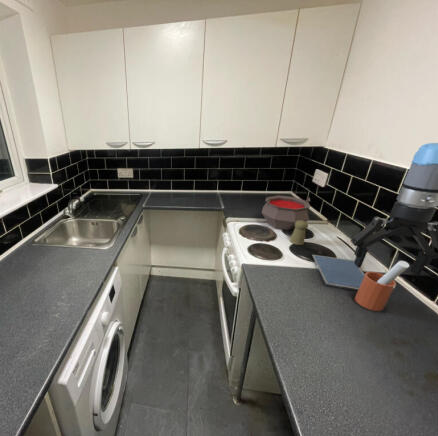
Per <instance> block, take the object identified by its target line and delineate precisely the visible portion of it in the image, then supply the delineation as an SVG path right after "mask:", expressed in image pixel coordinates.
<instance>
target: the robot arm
mask: <svg viewBox="0 0 438 436" xmlns="http://www.w3.org/2000/svg"><path fill="white" fill-rule="evenodd" d="M407 171H408V172H407V174H406V176H405V179H404V181H403V183H402V185H401V188H400V189H399V192H398V194H397V197H396V200H397V201H395V202H394V203H393V205H392V208H391V211H390V215H389V217H387V218H381V217H379V216H374V217H373V218H372V220H371V221H370V223H369V224H367V225H366V226H365V227H364V228H363V229H362V230H360V232H358V233H356V235H355V236H354V237H352V238H351V239H350V242H351V244H352V245H353V246H354V247H355V250H354V255H355V259H354V263H355V265H356V266H357V267H358V268H360V269H361V268H362V265H363V263H364V261H365V258H366V256H367V254H368V252H369V249H368V247H370V246H372V245H375V244H376V243H378V242H380V241H382V240H384V239H386V238H388V237H392V236H395V237H407V238H411V237H413V238H414V239H415V241H416V243H417V244H418V246H419V247H420V249H421V250H422V251H419V252H418V254H417V256H416V258H415V259H414V261H413V264H412V265H411V267H410V269H409V271H410V272H411V273H412V274H413V275H414V276H415V277H420V275H421V273H422V271H423V270H424V268H425V267H428V266H429V265H430V264H431V262H432V260H436V259H438V221H435V220H434V221H432V218H433V217H434V215H435V213H436V211H437V209H436V207H438V142H429V143H424V144H422V145H421V146H420V147H418V150H417V151H416V152H415V153H414V155H413V157H412V160H411V164H410V167H409V169H408V170H407ZM430 221H431V222H430ZM384 225H385V226H384ZM427 229H428V232H429V236H430V242H431V245H432V247H431V245H430V243H428V241H427V239H426V238H425V235H424V233H422V232H424V231H425V230H427Z"/></svg>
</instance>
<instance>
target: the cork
mask: <svg viewBox="0 0 438 436" xmlns="http://www.w3.org/2000/svg"><path fill="white" fill-rule="evenodd" d="M308 227H309V224H308V221H306V222H305V221H302V220H298V221H296V222H295V229H293V231H292V234H291V236H290V239H289V242H290V243H291V244H293V245H297V246H303V245H304V244H305V240H306V239H305V238H306V230H307V228H308Z"/></svg>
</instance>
